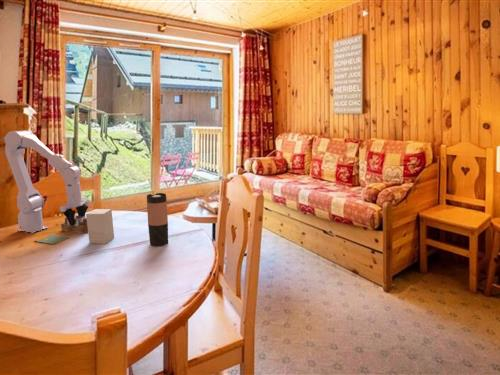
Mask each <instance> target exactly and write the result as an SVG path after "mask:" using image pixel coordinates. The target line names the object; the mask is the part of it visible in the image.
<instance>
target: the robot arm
mask: <svg viewBox="0 0 500 375" xmlns="http://www.w3.org/2000/svg"><path fill="white" fill-rule="evenodd" d="M3 141H4V143H5V148H4V149H5V150H4V153H5V155H6V158H7V161H8V163H9V164H8V165H9V167H10V170H11V172H12V175H13V178H14V181H15V184H16V187H17V189H18V193H17V195H16V200H17V204H16V206H17V209H18V210H19V211H20V212H18V215H17V223H18V230H19V229H21V230H25V231H26V232H25V233H27V232H32V233H31V234H35V233H34V232H36V231H39V230H41V231H43V230H42V229H44V230H46V229H45V228H47V229H49V226H44V220H43V212H42V208H43V206H44V203H45V199H44V197H43V196H42V195H41V194H40V192H39V190H38V189H36V188H35V187H34V185H33V182H32V179H31V176H30V174H29V171H28V167H27V165H26V163H25V160H24V157H23V152H24V151H25V149H26V148H31V149H33V150H34V151H36V152H37V153H38V154H39V155H41V156H42V157H44V158H45V159H47V162H48V165H50V166H51V167H53V169H55V170H56V171H57V172H59V173H60V174H61V175H60V176H61V178H62V179H63V180H64V186H65V193H66V195H65V196H66V204H64V205H62V206H60V207H59V212H61V213H62V214H63V215H64V216H65V218H67V220H68V222H69V224H70V225H75V219H74V217H75V215H76V212H77V215H79V216H86V214H87V211H88V209H89V204H90V200H89V199H82V189H81V182H80V180H81V179H80V177H81V175H82V169H81V168H80V167H79V166H78V165H73V163H72V162H69V161H68V160H66V158H64V155H62V154H60V153H54V152H53V151H52V150H50V148H48V147H47V146H46V145H45V144H44V143H43V142H42V141H41V140H39V139H38V137H37V135H36V134H33V132H32V131H30V130H27V129H26V130H25V129H24V130H15V131H14V130H10V131H8V132H7V133H6V135H5V136H4V138H3ZM74 209H75V210H74ZM39 232H40V231H39ZM36 233H37V232H36Z"/></svg>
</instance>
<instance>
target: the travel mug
mask: <svg viewBox="0 0 500 375" xmlns="http://www.w3.org/2000/svg"><path fill="white" fill-rule="evenodd" d="M167 202H168V200H167V194H166V193H162V192H156V194H151V193H149V194H146V208H147V226H148V237H149V238H148V239H149V245H150V246H152V247H163V246H166V245H168V243H169V223H168V222H169V221H168V220H169V219H168V218H169V217H168V203H167Z"/></svg>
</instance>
